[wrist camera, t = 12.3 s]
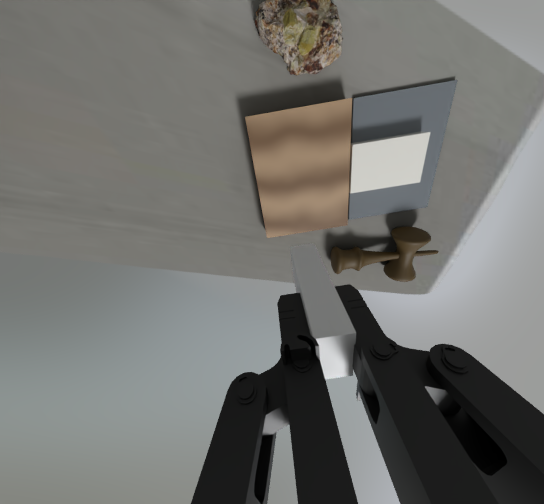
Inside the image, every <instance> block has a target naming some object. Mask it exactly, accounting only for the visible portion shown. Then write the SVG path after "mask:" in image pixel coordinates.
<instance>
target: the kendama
mask: <svg viewBox="0 0 544 504" xmlns="http://www.w3.org/2000/svg"><path fill="white" fill-rule="evenodd" d="M391 234H392V237H393V239H394V241H395V242H396V245H397V247H396V248H397V249H396V252H375V251H364V250H361V249H360V248H359V247H354V248H353V249H351V250H342V249H339V248H338V247H333V248H332V251H331V265H332V269H333V271H334V272H335V273H336V274H339V273H341V271H342V270H345V269H350V268H353V269H355V270H357V271H359V270H360V269H361V268H362V267H363V266H366V265H369V264H372V263H377V262H381V261H386V260H391V261H389V262H388V263H387V264H386V265H385V266H384V272H385V274H386V275H387V276H388V277H389V278H391V279H393V280H396V281H402V282H407V281H412V280H413V279H414V278H415V270H414V268H413V265H412V261H413V258H414V256H423V255H431V254H437V253H438V251H436V250H428V251H417V250H418V249H419V248H421V247H422V246H424V245H425V244H427V243H428V242H429V241H431V236H430V235H429V234H428V233H427V232H426V231H424V230H422V229H419V228H416V227H397V228H395V229H393V230H392V232H391Z"/></svg>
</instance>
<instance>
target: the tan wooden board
mask: <svg viewBox="0 0 544 504" xmlns="http://www.w3.org/2000/svg"><path fill="white" fill-rule="evenodd" d="M351 117H352V98H349V99H343V100H337V101H332V102H326V103H321V104H315V105H309V106H304V107H298V108H292V109H287V110H281V111H275V112H270V113H264V114H258V115H253V116H247V117H245V120H246V125H247V131H248V136H249V141H250V147H251V152H252V158H253V163H254V169H255V174H256V180H257V185H258V191H259V196H260V202H261V207H262V213H263V218H264V224H265V229H266V235H267V238H271V237H277V236H283V235H289V234H296V233H302V232H308V231H314V230H321V229H327V228H333V227H339V226H346V225H347V224H348V198H349V171H350V144H351Z"/></svg>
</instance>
